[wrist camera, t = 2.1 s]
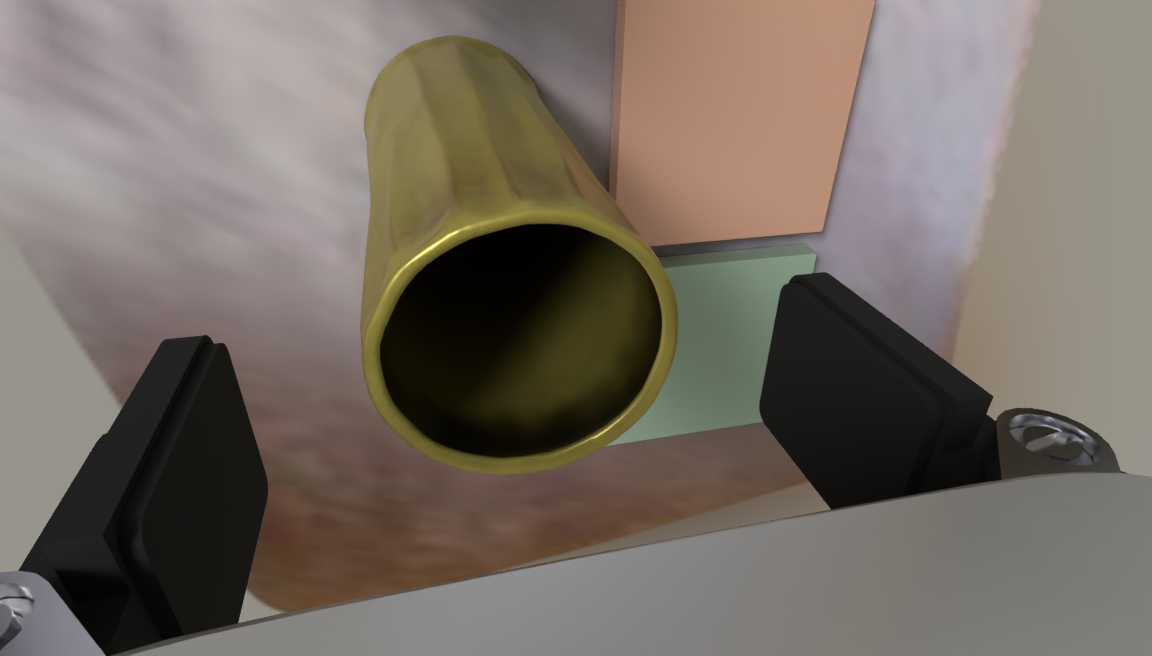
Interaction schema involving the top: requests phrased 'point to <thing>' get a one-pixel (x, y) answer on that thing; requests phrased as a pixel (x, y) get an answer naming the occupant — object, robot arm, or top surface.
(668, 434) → the green coaster
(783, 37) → the terracotta coaster
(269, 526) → the top surface
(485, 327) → the vase
